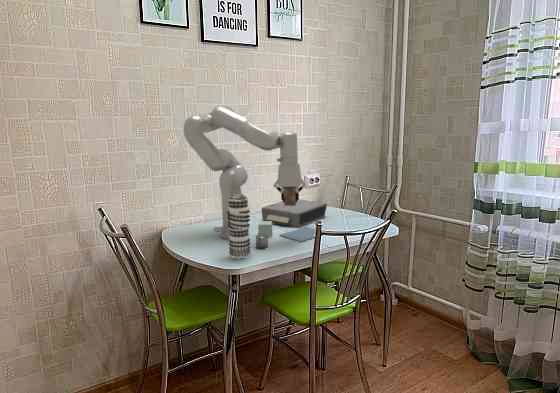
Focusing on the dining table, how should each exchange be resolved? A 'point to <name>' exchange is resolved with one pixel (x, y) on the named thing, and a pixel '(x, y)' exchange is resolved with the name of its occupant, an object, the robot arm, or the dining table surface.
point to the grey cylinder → (261, 241)
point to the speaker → (294, 213)
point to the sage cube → (265, 228)
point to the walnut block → (289, 196)
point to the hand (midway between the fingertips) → (290, 201)
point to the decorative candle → (239, 226)
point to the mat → (300, 234)
